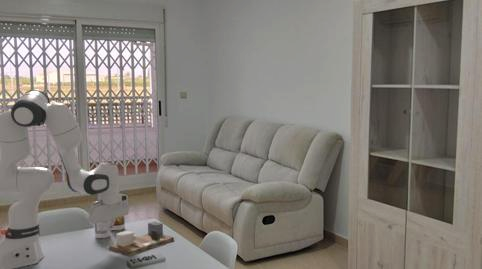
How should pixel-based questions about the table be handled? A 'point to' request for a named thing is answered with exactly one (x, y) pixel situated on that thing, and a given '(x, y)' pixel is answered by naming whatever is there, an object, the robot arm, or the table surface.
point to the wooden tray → (141, 244)
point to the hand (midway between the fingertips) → (109, 229)
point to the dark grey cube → (155, 228)
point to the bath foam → (101, 230)
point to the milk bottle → (119, 222)
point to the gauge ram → (125, 238)
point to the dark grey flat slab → (154, 235)
